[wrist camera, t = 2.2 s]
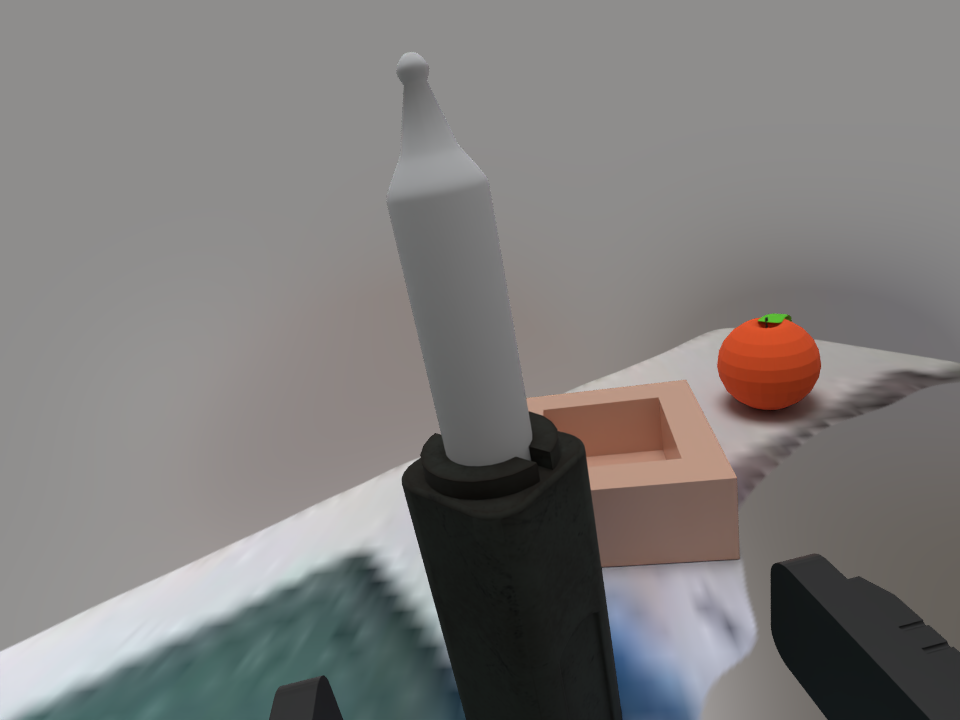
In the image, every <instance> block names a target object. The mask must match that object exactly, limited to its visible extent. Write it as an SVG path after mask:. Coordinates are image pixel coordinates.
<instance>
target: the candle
mask: <svg viewBox="0 0 960 720" xmlns="http://www.w3.org/2000/svg"><path fill="white" fill-rule="evenodd" d="M428 73H429V66H428V64H427V62H426V61H425V59H423V58H422V57H421V56H420V55H419V54H417V53H415V52H409V53H406V54H404V55H403V56H402V57H401V59H400V61H399V63H398V65H397V75H398V77H399V79H400V81H401V82H402V83H403V85H404V93H403V111H402V130H401V149H400V158H399V161H398V164H397V167H396V169H395V172H394V175H393V178H392V181H391V183H390V187H389V190H388V194H387V206H388V210H389V214H390V218H391V223H392V227H393V231H394V235H395V240H396V243H397V248H398V252H399V257H400V261H401V265H402V269H403V273H404V278H405V282H406V286H407V291H408V295H409V299H410V303H411V308H412V312H413V316H414V320H415V324H416V329H417V333H418V337H419V341H420V346H421V350H422V354H423V358H424V363H425V367H426V371H427V375H428V380H429V384H430V388H431V392H432V396H433V401H434V405H435V409H436V414H437V418H438V422H439V426H440V431H441V435H440V434H436V433H435V434H434V435H432V436H431V437H430V438H429V439H428V441H427V442H426V443H425V444H424V446H423V449H422V452H421V455H420V456H421V458H420V459H418V460H417V461H415V462H414V463H413V464H411V465H410V466H409V467H408V468H407V469H406V471H405V472H404V474H403V476H402V486H403V489H404V493H405V497H406V500H407V504H408V508H409V511H410V515H411V519H412V522H413V526H414V530H415V533H416V537H417V541H418V544H419V548H420V552H421V555H422V559H423V563H424V566H425V570H426V574H427V577H428V581H429V585H430V588H431V592H432V596H433V599H434V603H435V607H436V610H437V614H438V618H439V621H440V625H441V629H442V633H443V636H444V640H445V644H446V647H447V651H448V655H449V658H450V662H451V666H452V669H453V673H454V677H455V680H456V684H457V688H458V691H459V695H460V699H461V702H462V706H463V710H464V713H465V717H466V720H622V713H621V706H620V698H619V691H618V684H617V677H616V669H615V662H614V655H613V647H612V640H611V633H610V626H609V618H608V611H607V604H606V597H605V589H604V582H603V575H602V567H601V560H600V553H599V546H598V538H597V531H596V524H595V516H594V509H593V502H592V495H591V487H590V480H589V473H588V466H587V458H586V451H585V445H584V444H583V442H582V441H581V440H580V439H579V438H577V437H576V436H574V435H571V434H568V433H564V432H560V431H557V428H556V427H555V425H554V424H553V422H552V421H550V420H549V419H547V418H546V417H544V416H543V415H539V414H536V413H533V412H530V411H528V406H527V400H526V395H525V389H524V383H523V377H522V371H521V365H520V360H519V354H518V348H517V342H516V337H515V331H514V325H513V319H512V313H511V308H510V302H509V296H508V290H507V285H506V279H505V273H504V267H503V261H502V255H501V250H500V244H499V238H498V232H497V227H496V221H495V215H494V209H493V203H492V198H491V192H490V186H489V182H488V179H487V177H486V175H485V174H484V173H483V172H482V171H481V169H480V168H479V167H478V166H477V165H476V163H475V162H474V161H473V160H472V159H471V158H470V157H469V156H468V155H467V154H466V153H465V152H464V150H463V149H462V148H461V147H460V146H459V145H458V143H457V141H456V139H455V137H454V135H453V133H452V131H451V129H450V127H449V125H448V123H447V121H446V119H445V117H444V115H443V113H442V110H441V109H440V106H439V104H438V102H437V100H436V98H435V97H434V94H433V92H432V90H431V88H430V86H429V84H428V82H427V78H428Z"/></svg>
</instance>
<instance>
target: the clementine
mask: <svg viewBox="0 0 960 720" xmlns="http://www.w3.org/2000/svg"><path fill="white" fill-rule="evenodd" d="M717 367H718V372H719V377H720V379H721V381H722V382H723V384H724V386H725V388H726V390H727V391H728V392H729V393H730V394H731V395H732V396H733V397H734V398H735V399H737V400H738V401H740V402H742V403H744V404H746V405H748V406H750V407H753V408H757V409H763V410H776V409H782V408H785V407H788V406H790V405H793V404H795V403H797V402H799V401H800V400H802V399H803V398H804V397H805V396H806V395H807V394H809V393H810V392H811V390H812V388H813V387H814V385H815V383H816V381H817V380H818V378H819V374H820V369H821V361H820V354H819V349H818V347H817V345H816V343H815V341H814V339H813V338H812V337H811V336H810V335H809V334H808V333H807V332H806V331H805V330H804V329H803V328H802V327H800V326H798V325H796V324H794V323H793V322H792V320H791V316H789V315H785V314H769V315H765V316H763V317H761V318H755V319H752V320H749V321H747V322H745V323H743V324H742V325H740V326H738V327H737V328H735V329H734V330H733V331H732V332H731V333H730V334H729V335H728V336H727V338H726V339H725V340H724V341H723V343H722V346H721V348H720V350H719V355H718V364H717Z"/></svg>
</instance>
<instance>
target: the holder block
mask: <svg viewBox="0 0 960 720" xmlns="http://www.w3.org/2000/svg"><path fill="white" fill-rule="evenodd" d="M526 400H527V406H528V411H530V412H533V413H536V414H539V415H543V416H544V417H546V418H547V419H549V420H550V421H552V422H553V424H554V425H555V427H556V428H557V431H560V432H564V433H568V434H571V435H574V436H576V437H577V438H579V439H580V440H581V441H582V442H583V444H584V445H585V451H586V458H587V466H588V473H589V480H590V487H591V495H592V502H593V509H594V516H595V524H596V531H597V538H598V546H599V553H600V560H601V567H612V566H628V565H645V564H662V563H679V562H696V561H713V560H730V559H740V557H739V526H738V494H737V477H736V475H735V473H734V471H733V469H732V467H731V465H730V463H729V462H728V460H727V458H726V456H725V454H724V452H723V450H722V448H721V446H720V444H719V442H718V440H717V438H716V436H715V434H714V433H713V431H712V429H711V427H710V425H709V423H708V421H707V419H706V417H705V415H704V413H703V411H702V409H701V407H700V405H699V403H698V402H697V400H696V398H695V396H694V394H693V392H692V390H691V388H690V386H689V384H688V382H687V380H680V381H671V382H663V383H654V384H645V385H636V386H628V387H619V388H610V389H601V390H593V391H584V392H575V393H567V394H558V395H550V396H541V397H532V398H526Z"/></svg>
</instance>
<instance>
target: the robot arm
mask: <svg viewBox="0 0 960 720" xmlns="http://www.w3.org/2000/svg"><path fill="white" fill-rule="evenodd" d="M771 630H772V635H773V639H774V642H775V645H776V647H777V649H778V652H779V654H780V656H781V658H782V659H783V661H784V663H785V664H786V666H787V667H788V668H789V670H790V671H791V672H792V674H793V675H794V676H795V677H796V679H797V680H798V681H799V683H800V684H801V685H802V687H803V688H804V689H805V690H806V692H807V693H808V694H809V696H810V697H811V698H812V700H813V701H814V702H815V704H816V705H817V706H818V708H819V709H820V710H821V712H822V713H823V714H824V715H825V717H826V718H827V719H828V720H960V652H959V651H958V650H957V649H955V648H954V647H952V648H951V647H950V646H949V645H948V643H947V641H946V640H945V639H944V638H943V637H942V636H941V635H939V634H938V633H937V632H936V631H935V630H934V629H933V628H932V627H930V626H929V625H927V626H926V625H925V624H924V622H923V620H922V619H921V618H920V617H919V616H918V615H917V614H915V612H913V611H912V610H911V609H910V608H909V607H908V606H907V605H905V604H904V603H903V602H902V601H901V600H900V599H899V598H897V597H896V596H895V595H894V594H892V593H890V592H888V591H886V590H884V589H882V588H880V587H879V586H876V585H875V584H873V583H871V582H869V581H867V580H865V579H863V578H861V577H855V578H851V579H847V578H846V577H845V576H843V574H842V573H840V572H839V571H838V570H837V569H836V568H835V567H834V566H833V565H832V564H831V563H830V562H829V561H827V560H826V559H825V558H824V557H822V556H821V555H819V554H810V555H806V556H803V557H799V558H795V559H790V560H786V561H783V562H779V563H775V564H773V566H772V568H771ZM269 720H343V718H342V715H341V713H340V710H339V707H338V705H337V702H336V699H335V697H334V694H333V692H332V689H331V686H330V684H329V681H328V679H327V678H326V677H325V676H319V677H315V678H311V679H307V680H304V681H300V682H296V683H292V684H288V685H284V686H280V687H279V688H278V689H277V691H276V694H275V697H274V701H273V705H272V709H271V714H270V718H269Z"/></svg>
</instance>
